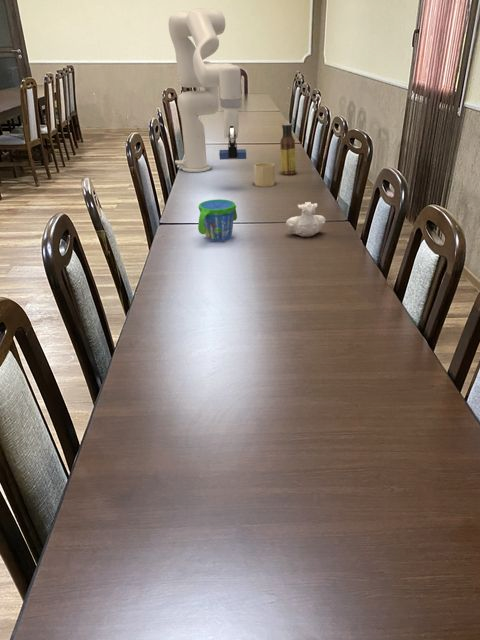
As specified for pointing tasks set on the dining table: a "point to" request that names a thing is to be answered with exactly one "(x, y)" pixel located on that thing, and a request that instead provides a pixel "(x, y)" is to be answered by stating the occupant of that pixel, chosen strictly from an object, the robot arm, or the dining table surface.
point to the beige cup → (264, 174)
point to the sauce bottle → (288, 151)
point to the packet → (224, 155)
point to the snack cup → (217, 219)
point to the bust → (305, 221)
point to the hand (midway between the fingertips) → (232, 155)
